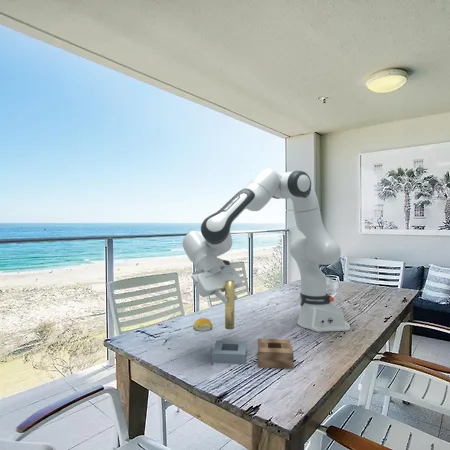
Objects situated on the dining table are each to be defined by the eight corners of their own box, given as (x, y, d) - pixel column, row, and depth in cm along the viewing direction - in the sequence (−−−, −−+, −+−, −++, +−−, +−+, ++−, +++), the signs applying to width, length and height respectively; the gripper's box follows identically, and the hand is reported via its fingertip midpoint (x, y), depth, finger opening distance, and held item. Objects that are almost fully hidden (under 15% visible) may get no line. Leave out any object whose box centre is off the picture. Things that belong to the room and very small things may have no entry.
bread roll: (209, 324, 144) (210, 315, 144) (213, 330, 135) (213, 321, 135) (191, 325, 142) (192, 316, 142) (194, 332, 133) (194, 323, 133)
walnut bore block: (289, 356, 109) (289, 339, 109) (293, 372, 98) (293, 353, 98) (257, 355, 110) (257, 338, 110) (257, 370, 100) (258, 351, 99)
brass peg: (234, 326, 109) (234, 280, 109) (234, 329, 106) (234, 282, 106) (225, 325, 109) (225, 280, 109) (224, 329, 106) (224, 282, 106)
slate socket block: (246, 352, 113) (246, 341, 113) (245, 366, 102) (245, 354, 102) (216, 351, 114) (216, 340, 114) (211, 365, 103) (211, 353, 103)
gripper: (193, 266, 104) (215, 301, 98) (232, 260, 119) (253, 290, 113) (184, 278, 107) (205, 312, 101) (223, 271, 122) (243, 300, 116)
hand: (231, 300), depth 107 cm, fingers closed on brass peg, 3 cm apart
